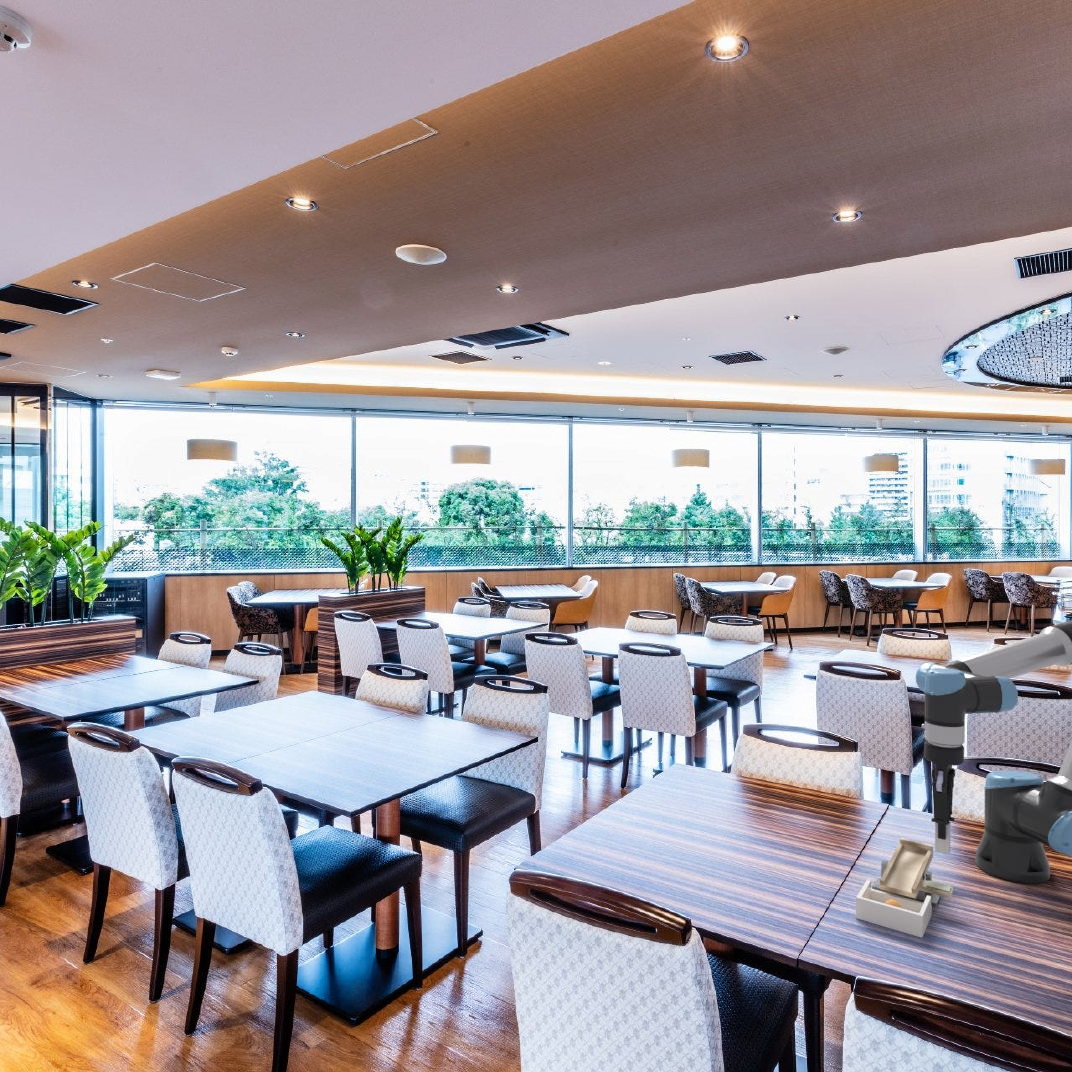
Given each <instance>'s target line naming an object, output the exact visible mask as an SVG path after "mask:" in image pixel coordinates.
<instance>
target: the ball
mask: <svg viewBox="0 0 1072 1072" xmlns="http://www.w3.org/2000/svg"><path fill="white" fill-rule="evenodd" d="M885 904H888V905H892V906H895V907H899V908H902V907H901V905H900V904H899V903H898V902H897V901H895V900H887V901H886V902H885Z"/></svg>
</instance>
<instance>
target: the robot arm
mask: <svg viewBox="0 0 1072 1072" xmlns="http://www.w3.org/2000/svg"><path fill="white" fill-rule="evenodd" d="M1054 665H1055V666H1059V667H1067V666H1070V665H1072V619H1071V620H1068V621H1067V620H1066V621H1064V622H1061V623H1056V624H1053V625H1050V626H1046V627H1044V628H1042V630H1041V631H1040V632H1039V634H1036V635H1033V636H1030V637H1026V638H1023V639H1020V640H1018V641H1014V642H1010V643H1007V644H1005V645H1001V646H998V647H995V648H991V649H988V650H986V651H983V652H978V653H976V654H973V655H970V656H966V657H963V658H959V659H956V660H953V661H950V662H946V663H940V662H931V661H930V662H925V663H923V664H921V665H920V666H919V667H918V669H917V670H916V672H915V673H916V674H915V683H916V685H917V687H918V689H919V690H920V691H922V692H923V693H924V723H922V724H921V728H922V729H924V739H925V741H924V743H923V744H924V745H923V756H924V759H925V760H926V761H928V762H930V763H933V764H935V765H934V766H933V769H932V770H931V778H932V782H931V787H932V795H933V796H932V799H933V801H932V802H933V804H932V805H933V817H932V818H931V819H930V820H931V822H932V823H934V824H935V828H934V832H935V833H934V852H935V853H940V854H943V855H948V856H949V855H950V854H951V825H952V824H951V823H952V822H953V823H955V819H956V818H955V817H952V815H953V797H954V795H953V794H954V787H955V783H954V781H955V776H956V769H955V768H953V766H960V765H963V764H964V761H965V746H964V744H965V740H966V739H965V738H966V736H965V735H966V734H965V731H966V726H965V725H966V722H965V721H966V720H965V718H966V715H967V714H968V715H970V714H971V715H974V714H987V713H988V714H989V713H990V714H991V713H993V714H994V713H995V714H999V713H1003V712H1008V711H1011V710H1013V709H1015V707H1016V706H1017V704H1018V701H1019V696H1018V695H1019V692H1018V689H1017V687H1016V685H1015V683H1014V682H1013V681H1012V680H1011V679H1013V678H1017V677H1018V676H1019V677H1020V676H1023V675H1026V674H1029V673H1033V672H1035V671H1038V670H1042V669H1045V668H1048V667H1052V666H1054ZM983 789H984V830H983V834H982V837H981V839H980V841H979V844H978V846H977V848H976V850H975V859H974V860H975V861H974V862H975V864H976V866H977V867H978V868H979V869H981V870H982V871H984V872H985V873H987V874H989V875H991V876H993V877H996V878H999V879H1002V880H1005V881H1010V882H1014V883H1020V884H1029V885H1030V884H1031V885H1032V884H1033V885H1034V884H1042V883H1043V884H1044V883H1046V882H1048V881H1049V880H1050V879H1051V867H1050V862H1049V860H1048V857H1047V855H1046V851H1045V849H1044V845H1045V846H1047V847H1049V848H1051V849H1052V850H1054V851H1055V852H1058V853H1060V854H1063V855H1066V856H1069V857H1071V858H1072V740H1071V742H1070V744H1069V746H1068V749H1067V752H1066V754H1065V756H1064V758H1063V762H1062V764H1061V766H1060V769H1059V771H1058V773H1057V775H1055V776H1053V777H1049V778H1046V780H1045V782H1044V780H1043V777H1042V776H1041V775H1040V774H1036V773H1032V772H1028V771H1021V770H1006V769H1005V770H994V771H991V772H989V773H988V774H987V775H986V776H985V785H984V788H983ZM1043 844H1044V845H1043Z"/></svg>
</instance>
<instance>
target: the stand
mask: <svg viewBox="0 0 1072 1072" xmlns="http://www.w3.org/2000/svg"><path fill="white" fill-rule="evenodd" d="M888 864H889V862H888V860H886V859H885V860H884V859H883V860H882V861H881V864H880V865H881V867H880V869H881V870H880V874H881V875H880V877H876V879H875V880H874V882H873V883H872V885H871V889H875V890H878V891H882V892H886V893H889V894H893V895H897V896H900V897H904V898H908V899H911V900H915V901H919V902H922V903H924V901H925V899H926V897H927V895H928V896H931V905H932V907H938V903H939V902H940V900H941V896H940V895H936V894H932V893H929V892H925V891H921V890H919V892H918V894H917V897H916V899H915V898H911V897H908V896H904V895H900V894H897V893H893V892H889V891H886V890H882V889H880V879H881V877H882V875H883V873H884V872H885V870H886V868H887V866H888ZM932 877H933V872H932V871H928V870H927V872H926V874H925V880H926V881H928V880H929V881H933V878H932Z"/></svg>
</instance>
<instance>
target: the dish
mask: <svg viewBox="0 0 1072 1072" xmlns="http://www.w3.org/2000/svg"><path fill="white" fill-rule="evenodd" d="M887 900H895V901H897V902H898V903H899V904H900V905H901V907H902V908H899V907H895V906H892V905H888V904H885V902H886V901H887ZM932 908H933V905H931V896H928V895H927V897H926V899H925V901H924V903H922V902H919V901H915V900H911V899H908V898H904V897H900V896H897V895H893V894H889V893H886V892H882V891H878V890H875V889H872V880H871V879H868V878H867V879H866V881H865V883H864V884H863V886H862V888H861V889H860V891H859V892H858V893H857V895H856V897H855V919H858V920H861V921H865V922H868V923H870V924H874V925H878V926H881V927H885V928H888V929H891V930H893V931H894V930H895V931H897V932H901V933H905V934H908V935H910V936H915V937H918V938H921V939H922V938H923V937H924V934H925V933H926V930H927V928H928V925H929V923H930V921H931V918H932V915H933V914H932V913H933V912H932V910H933V909H932Z"/></svg>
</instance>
